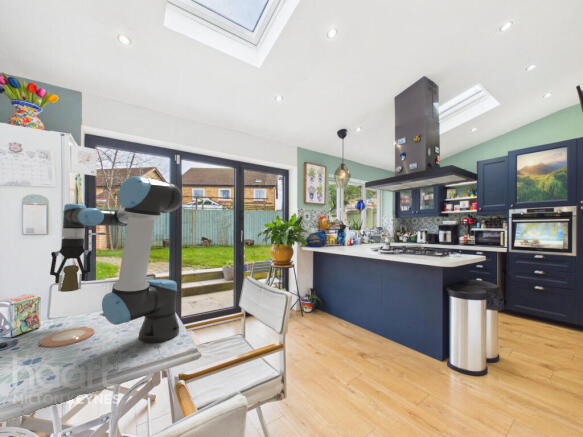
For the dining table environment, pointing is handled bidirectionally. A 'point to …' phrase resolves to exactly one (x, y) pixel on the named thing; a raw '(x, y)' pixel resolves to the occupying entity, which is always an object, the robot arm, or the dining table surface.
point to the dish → (67, 337)
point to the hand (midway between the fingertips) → (69, 289)
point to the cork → (70, 278)
